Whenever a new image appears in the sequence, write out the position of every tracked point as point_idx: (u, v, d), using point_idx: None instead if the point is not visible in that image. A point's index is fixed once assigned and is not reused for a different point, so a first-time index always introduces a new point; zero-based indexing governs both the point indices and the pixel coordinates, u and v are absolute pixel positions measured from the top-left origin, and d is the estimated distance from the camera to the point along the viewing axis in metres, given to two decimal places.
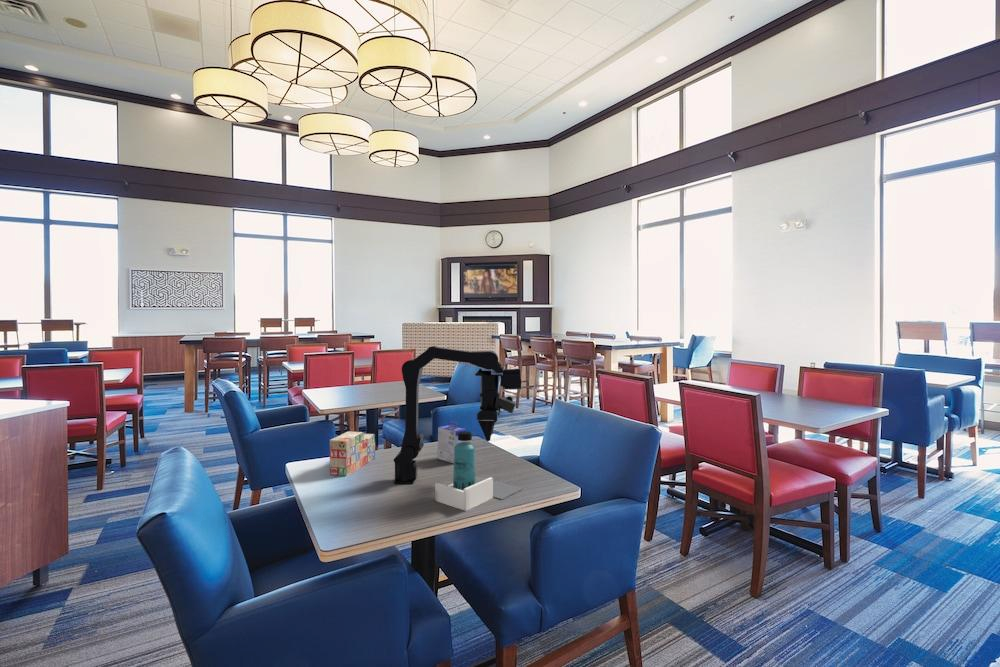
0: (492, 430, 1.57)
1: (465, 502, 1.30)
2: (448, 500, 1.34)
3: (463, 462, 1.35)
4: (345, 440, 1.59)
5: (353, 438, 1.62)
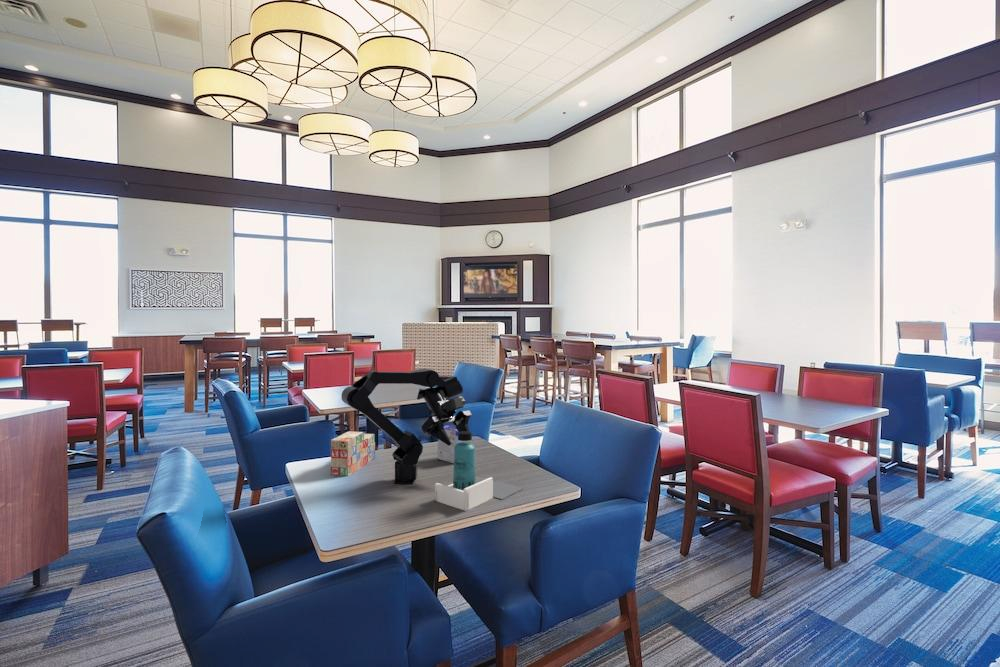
0: None
1: (465, 502, 1.30)
2: (448, 500, 1.34)
3: (463, 462, 1.35)
4: (346, 440, 1.59)
5: (354, 438, 1.62)
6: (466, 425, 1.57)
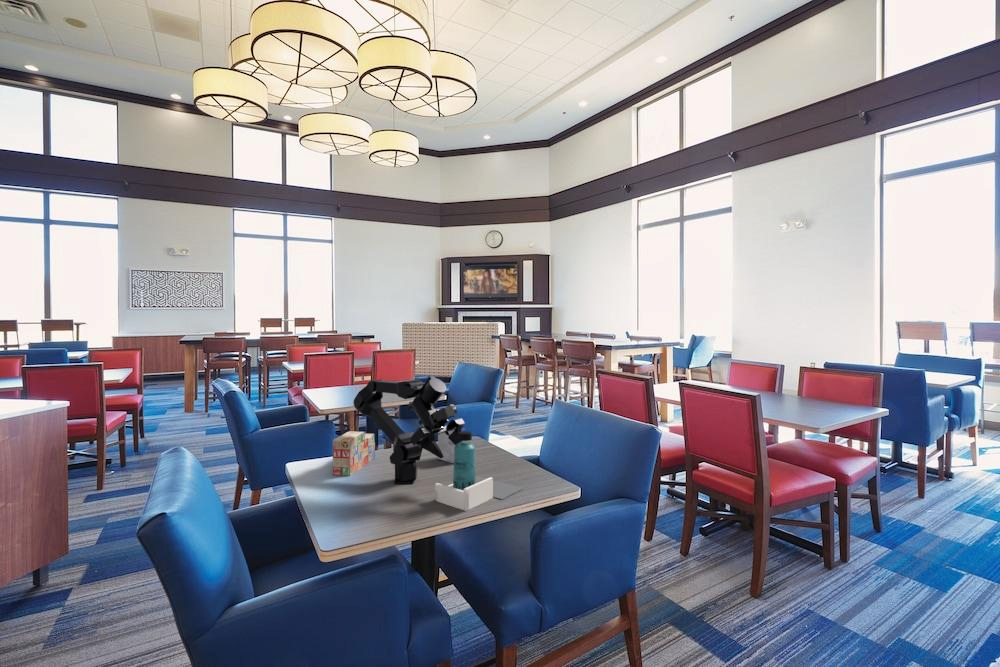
0: None
1: (465, 502, 1.30)
2: (448, 500, 1.34)
3: (463, 462, 1.35)
4: (348, 440, 1.59)
5: (356, 438, 1.63)
6: None
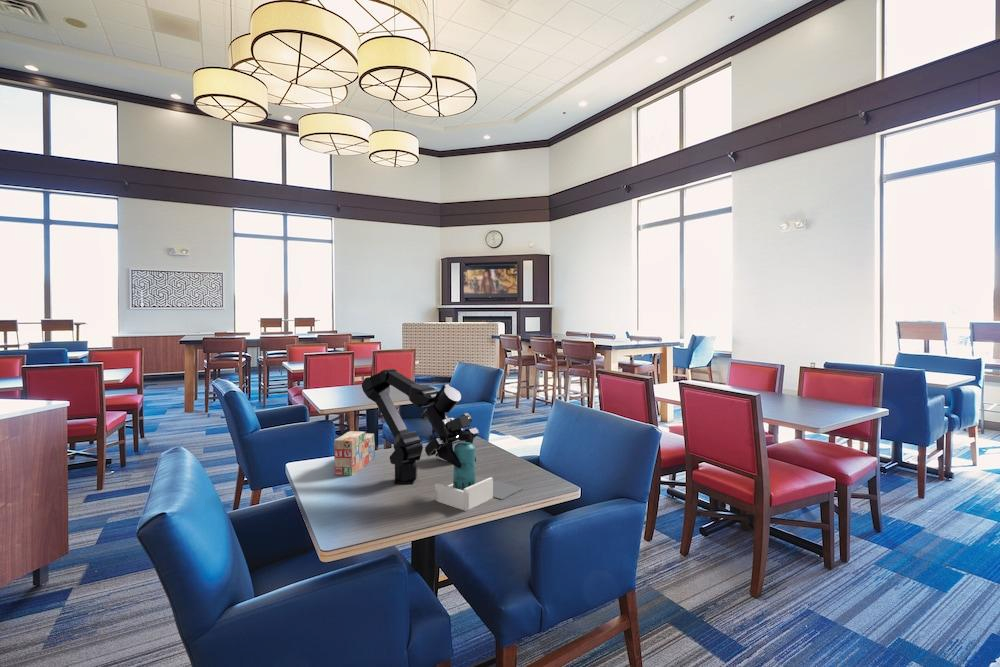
0: None
1: (465, 502, 1.30)
2: (448, 500, 1.34)
3: (463, 462, 1.35)
4: (350, 440, 1.59)
5: (357, 438, 1.63)
6: None
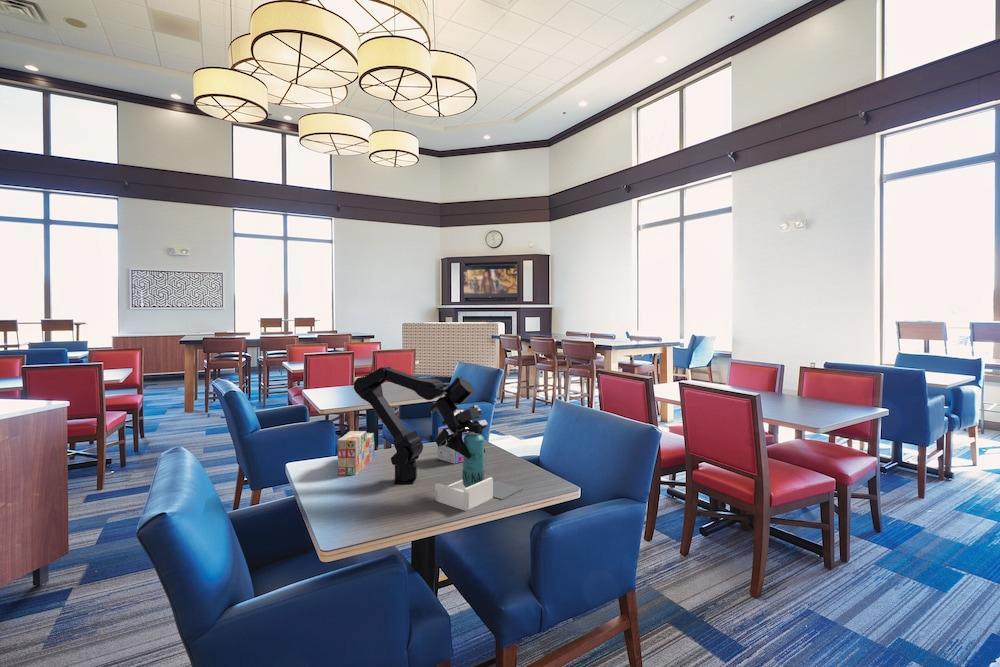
0: None
1: (465, 502, 1.30)
2: (448, 500, 1.34)
3: (472, 452, 1.38)
4: (353, 439, 1.60)
5: (360, 437, 1.63)
6: None
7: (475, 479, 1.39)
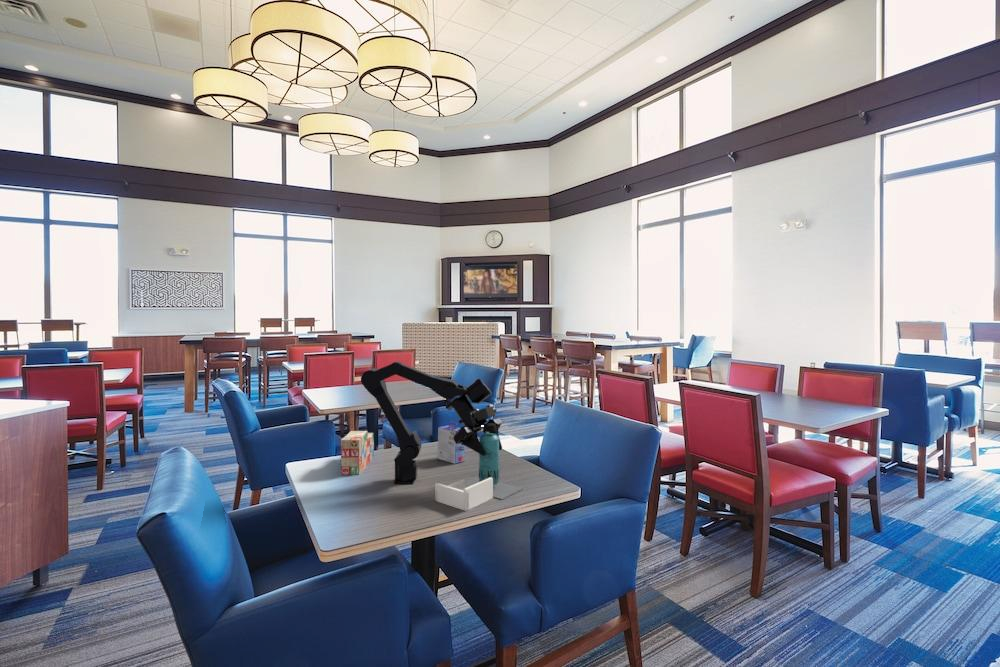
0: (499, 444, 1.50)
1: (465, 502, 1.30)
2: (448, 500, 1.34)
3: (488, 452, 1.44)
4: (357, 439, 1.60)
5: (362, 437, 1.64)
6: (497, 434, 1.52)
7: (491, 477, 1.45)
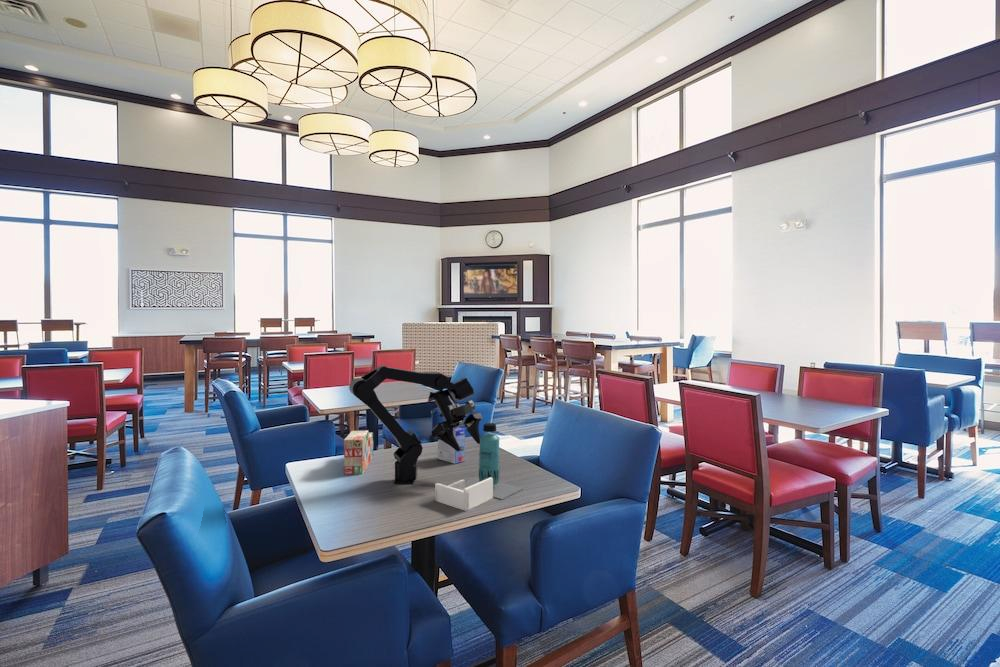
0: (478, 438, 1.56)
1: (465, 502, 1.30)
2: (448, 500, 1.34)
3: (488, 452, 1.44)
4: (360, 439, 1.61)
5: (365, 436, 1.65)
6: (476, 428, 1.57)
7: (491, 477, 1.45)
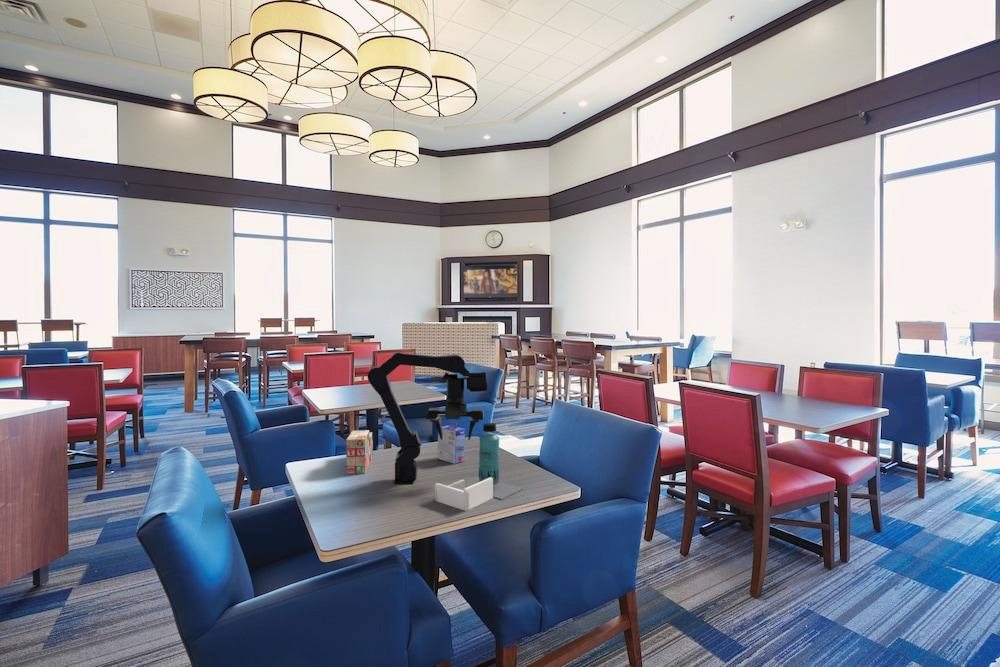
0: None
1: (465, 502, 1.30)
2: (448, 500, 1.34)
3: (488, 452, 1.44)
4: (362, 438, 1.61)
5: (366, 436, 1.65)
6: (471, 426, 1.54)
7: (491, 477, 1.45)
